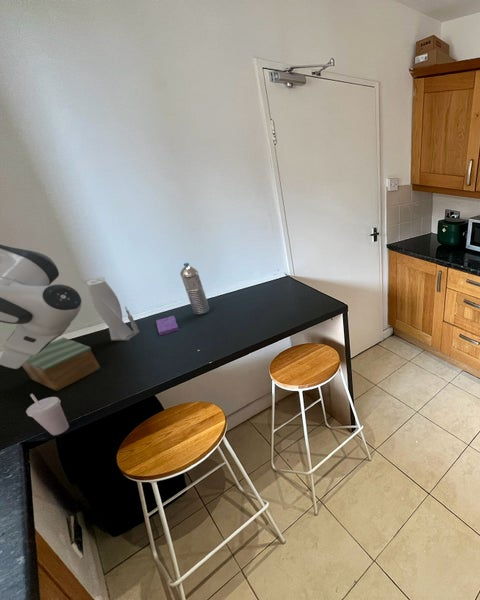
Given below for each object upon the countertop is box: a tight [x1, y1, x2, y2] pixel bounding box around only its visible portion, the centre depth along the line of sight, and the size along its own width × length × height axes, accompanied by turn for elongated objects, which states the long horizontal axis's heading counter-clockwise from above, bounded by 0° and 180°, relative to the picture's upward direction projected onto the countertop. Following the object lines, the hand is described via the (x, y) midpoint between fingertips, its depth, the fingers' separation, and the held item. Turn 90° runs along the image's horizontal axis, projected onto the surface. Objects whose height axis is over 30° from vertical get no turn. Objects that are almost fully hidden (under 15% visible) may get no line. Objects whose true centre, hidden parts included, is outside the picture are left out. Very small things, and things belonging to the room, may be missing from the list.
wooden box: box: [21, 348, 102, 392], centre depth 109 cm, size 16×13×9 cm
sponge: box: [155, 315, 180, 336], centre depth 138 cm, size 7×13×2 cm, turn 39°
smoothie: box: [25, 393, 70, 436], centre depth 86 cm, size 6×6×14 cm
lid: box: [26, 337, 92, 371], centre depth 107 cm, size 16×13×1 cm
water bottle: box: [179, 262, 211, 316], centre depth 145 cm, size 7×7×25 cm
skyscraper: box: [82, 276, 141, 342], centre depth 126 cm, size 8×8×28 cm
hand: (31, 343), depth 90 cm, fingers closed
